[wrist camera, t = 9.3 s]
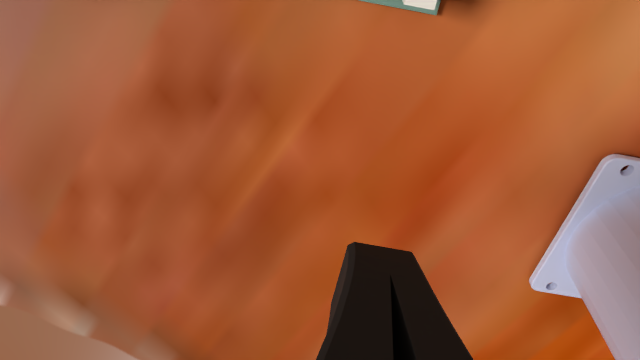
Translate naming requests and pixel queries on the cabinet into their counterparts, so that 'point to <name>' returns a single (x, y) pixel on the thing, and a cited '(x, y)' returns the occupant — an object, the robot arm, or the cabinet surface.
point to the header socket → (411, 5)
